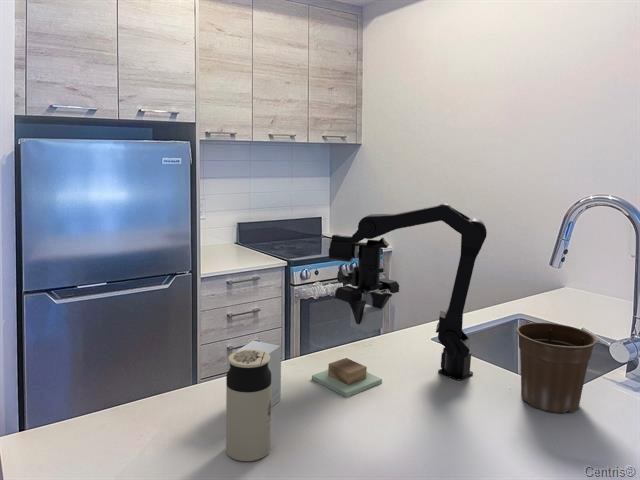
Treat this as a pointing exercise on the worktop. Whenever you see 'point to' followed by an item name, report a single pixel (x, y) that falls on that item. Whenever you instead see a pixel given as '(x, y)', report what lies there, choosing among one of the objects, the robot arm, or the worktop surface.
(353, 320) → the slate block
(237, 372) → the travel mug
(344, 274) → the robot arm
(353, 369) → the walnut block
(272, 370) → the supplement box
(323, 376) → the baseplate
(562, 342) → the plant pot
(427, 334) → the worktop surface
